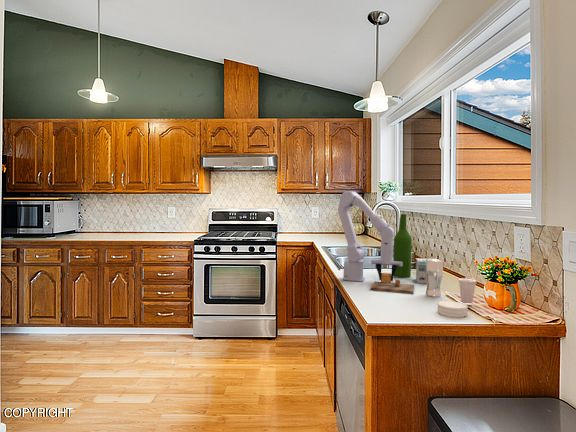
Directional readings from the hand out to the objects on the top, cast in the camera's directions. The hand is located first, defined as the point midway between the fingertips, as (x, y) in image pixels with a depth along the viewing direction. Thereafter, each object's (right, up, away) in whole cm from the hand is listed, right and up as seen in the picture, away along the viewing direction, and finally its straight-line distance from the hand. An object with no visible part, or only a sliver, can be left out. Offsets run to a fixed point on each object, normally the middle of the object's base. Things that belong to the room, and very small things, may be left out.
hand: (386, 280), depth 191 cm
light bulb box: (+20, -2, +6) cm, 21 cm away
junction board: (0, -2, -12) cm, 12 cm away
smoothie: (+22, -4, -37) cm, 43 cm away
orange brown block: (0, -1, 0) cm, 1 cm away
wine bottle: (+13, -1, +18) cm, 22 cm away
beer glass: (+14, -3, -23) cm, 27 cm away
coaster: (+11, -4, -49) cm, 51 cm away
